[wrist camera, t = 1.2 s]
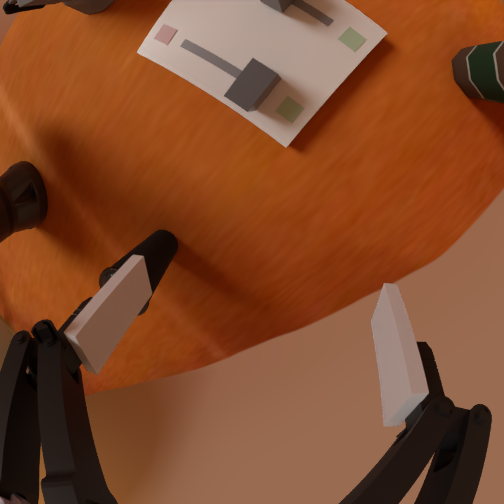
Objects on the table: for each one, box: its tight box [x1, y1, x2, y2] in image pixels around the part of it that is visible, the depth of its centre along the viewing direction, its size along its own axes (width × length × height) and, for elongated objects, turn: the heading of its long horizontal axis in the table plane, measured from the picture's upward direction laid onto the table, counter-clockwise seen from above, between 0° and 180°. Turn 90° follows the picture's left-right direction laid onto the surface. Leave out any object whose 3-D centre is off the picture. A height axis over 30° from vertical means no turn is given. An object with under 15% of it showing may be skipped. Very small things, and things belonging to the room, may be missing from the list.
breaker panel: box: [137, 0, 387, 147], centre depth 25 cm, size 24×20×3 cm
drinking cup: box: [99, 230, 178, 316], centre depth 36 cm, size 8×8×20 cm
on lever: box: [224, 58, 282, 112], centre depth 26 cm, size 3×5×5 cm, turn 144°
